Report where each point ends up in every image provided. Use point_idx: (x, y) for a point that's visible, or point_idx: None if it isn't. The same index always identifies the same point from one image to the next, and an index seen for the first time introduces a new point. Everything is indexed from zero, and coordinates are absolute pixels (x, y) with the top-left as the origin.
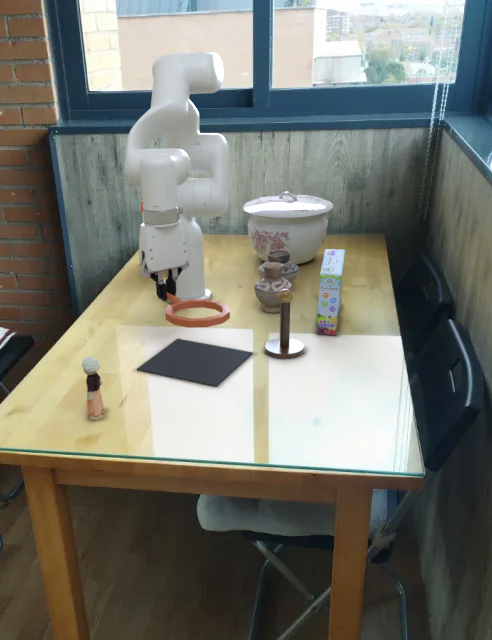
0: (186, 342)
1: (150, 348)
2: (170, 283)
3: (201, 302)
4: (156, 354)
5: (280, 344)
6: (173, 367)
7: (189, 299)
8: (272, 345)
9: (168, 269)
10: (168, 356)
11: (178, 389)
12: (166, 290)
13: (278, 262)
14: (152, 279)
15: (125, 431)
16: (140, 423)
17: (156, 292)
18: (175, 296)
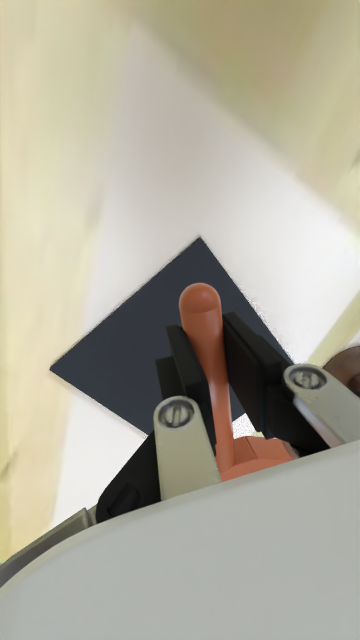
0: (211, 275)
1: (109, 258)
2: (254, 416)
3: None
4: (114, 315)
5: (351, 387)
6: (134, 386)
7: (259, 459)
8: (342, 375)
9: (333, 446)
10: (140, 336)
11: (120, 450)
12: (226, 330)
13: None
14: (139, 457)
15: (9, 529)
16: (35, 516)
17: (156, 366)
18: (227, 422)
